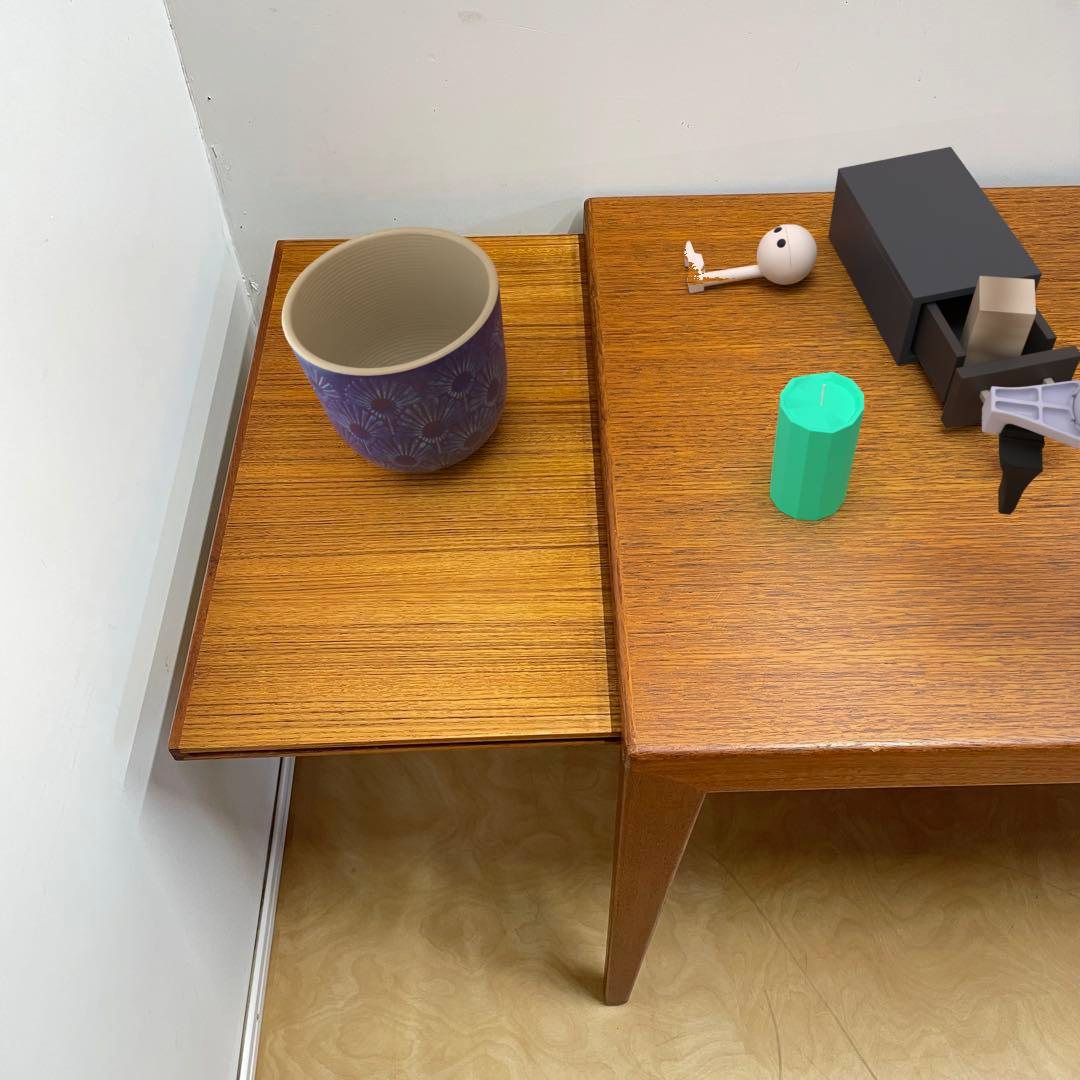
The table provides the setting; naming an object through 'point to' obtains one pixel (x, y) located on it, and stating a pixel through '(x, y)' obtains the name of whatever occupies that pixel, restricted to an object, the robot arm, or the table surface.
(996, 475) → the table surface
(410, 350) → the planter
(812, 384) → the candle
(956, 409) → the drawer
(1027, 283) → the block
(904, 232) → the cabinet
